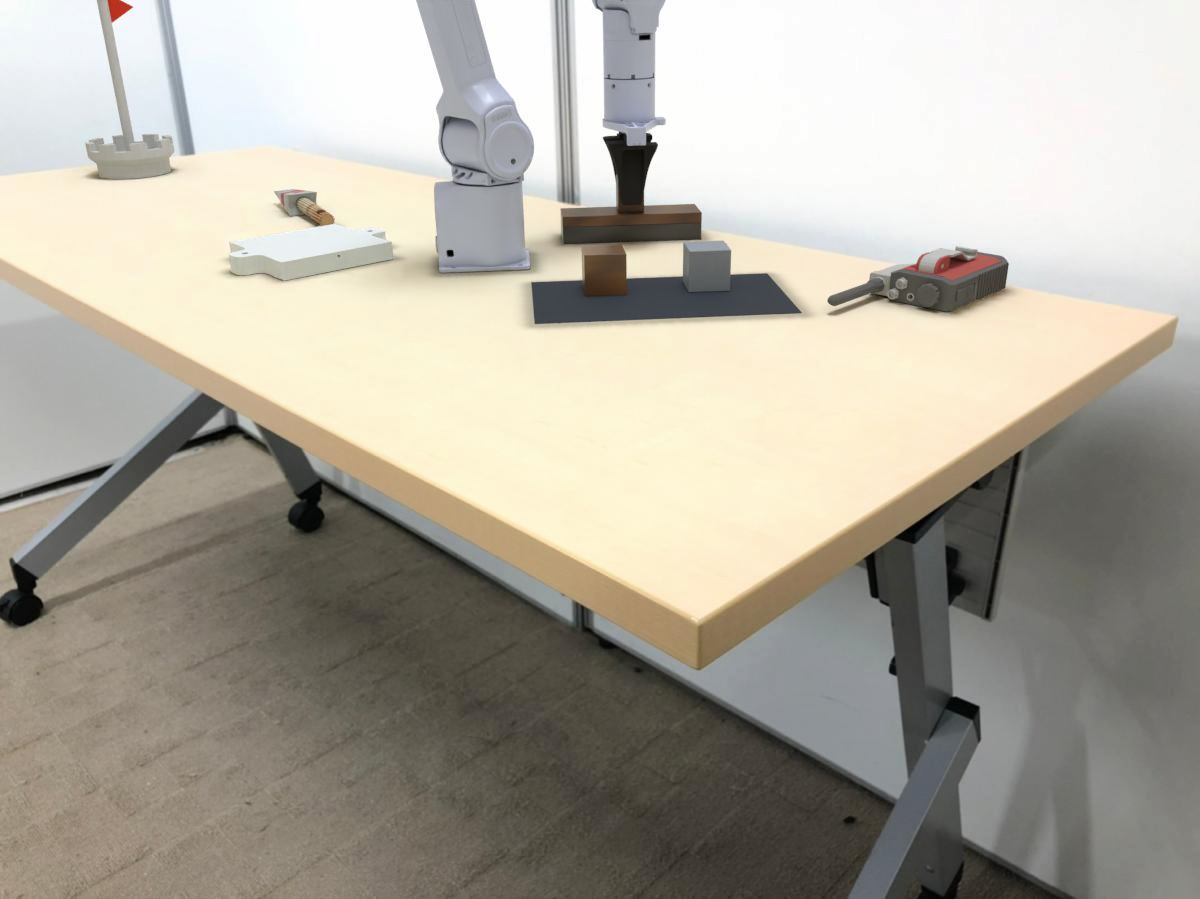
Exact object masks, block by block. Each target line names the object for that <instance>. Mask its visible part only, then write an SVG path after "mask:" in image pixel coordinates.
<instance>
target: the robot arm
mask: <svg viewBox="0 0 1200 899" xmlns="http://www.w3.org/2000/svg"><path fill="white" fill-rule="evenodd" d="M415 1H416V5H417V9H418V12H419V15H420V18H421V21H422V25H423V28H424V31H425V35H426V39H427V41H428V44H429V48H430V51H431V55H432V56H433V57H432V58H433V61H434V65H435V68H436V71H437V74H438V78H439V82H440V84H441V87H442V94H441V95H440V98H439V99H438V101H437V103H436V106H435V111H436V114H437V118H438V125H439V128H438V138H437V141H438V149H439V153H440V154H441V156H442V158H443V160H444V161H445V162H446V163H447V165H449V166H450V167H451V169H450V170H451V177H452V180H448V181H436V182H435V183H434V184H433V185H434V187H433V188H434V189H433V201H434V202H433V203H434V218H435V233H436V235H435V237H434V238H435V239H434V240H435V251H436V253H437V256H438V257H437V258H438V266H439V267H438V272H439V273H440V274H441V273H442V274H447V273H472V272H473V273H474V272H475V273H476V272H498V271H500V272H502V271H503V272H504V271H526V270H527V271H528V270H530V269H531V260H530V249H529V248H526V234H525V233H526V232H525V214H524V213H525V212H524V190H523V188H524V187H523V181H525V174H524V173H526V171H527V170H528V169H529V168H530V165H531V163H532V161H533V158H534V153H535V141H534V140H535V139H534V136H533V134H532V131H531V129H530V128H529V126H528V125H527V124H526V123H525V122H524V120H523V119H522V118H521V115H520V113H519V111H518V109H517V104H516V101H515V99H514V98H513V97H512V95H510V94H511V93H509V92H508V91H507V89H506V88H505V87H504V86H503V85H502V84H501V82H500V81H499V80H498V79H497V77H496V74H495V69H494V66H493V62H492V58H491V54H490V52H489V47H488V44H487V41H486V37H485V33H484V29H483V25H482V21H481V18H480V15H479V11H478V8H477V4H476V0H415ZM591 2H592V4H593V6H594V8H595V9H596V10H599V11H600V12H601V13H602V54H603V55H602V57H603V60H602V61H603V63H602V64H603V116H604V117H603V119H602V127H603V128H605V129H608V130H612V131H615V132H618V133H616V135H605V136H603V137H602V140H603V142H604V144H605V146H606V148H607V150H608V153H609V157H610V159H611V163H612V167H613V175H614V179H615V181H616V174H617V177H618V184H619V191H620V196H621V200H622V203H623V205H641V202H642V199H643V194H644V195H645V188H646V181H647V177H648V172H649V169H650V165H651V163H652V160H653V158H654V156H655V154H656V152H657V150H658V146H659V143H658V142H657V141H653V135H652V134H651V133H650V132H649V131H650V130H652V129H654V128H655V127H657V126H666V120H667V119H666V118H665V116H656V32H657V28H659V24H660V19H659V18H660V14H661V10H662V9H663V7H664V5H665V3H666V0H591Z"/></svg>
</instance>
